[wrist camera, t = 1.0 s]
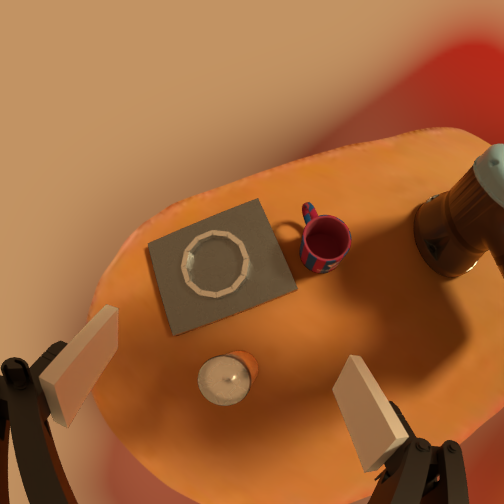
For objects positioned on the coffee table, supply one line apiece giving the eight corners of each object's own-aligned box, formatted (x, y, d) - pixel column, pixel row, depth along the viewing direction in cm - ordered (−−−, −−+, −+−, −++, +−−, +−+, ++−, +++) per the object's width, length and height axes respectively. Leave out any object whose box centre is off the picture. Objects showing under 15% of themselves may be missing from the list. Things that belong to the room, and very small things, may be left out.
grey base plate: (258, 202, 46) (257, 194, 43) (297, 290, 41) (298, 287, 38) (151, 246, 45) (144, 241, 43) (176, 335, 40) (170, 335, 38)
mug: (307, 278, 41) (311, 268, 34) (287, 220, 44) (288, 201, 38) (347, 266, 41) (358, 253, 34) (325, 210, 44) (332, 190, 37)
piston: (263, 356, 38) (256, 365, 27) (252, 391, 37) (240, 413, 25) (226, 344, 39) (205, 348, 28) (215, 379, 38) (190, 395, 26)
